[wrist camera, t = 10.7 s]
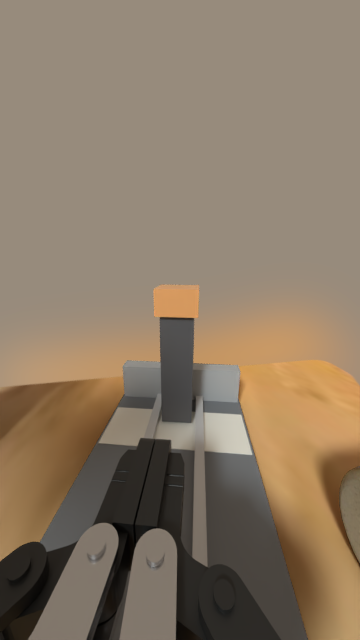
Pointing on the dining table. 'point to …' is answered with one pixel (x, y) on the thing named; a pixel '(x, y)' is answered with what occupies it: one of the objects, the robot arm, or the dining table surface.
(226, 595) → the robot arm
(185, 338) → the fader
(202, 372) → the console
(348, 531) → the ceramic mug
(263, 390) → the dining table surface
